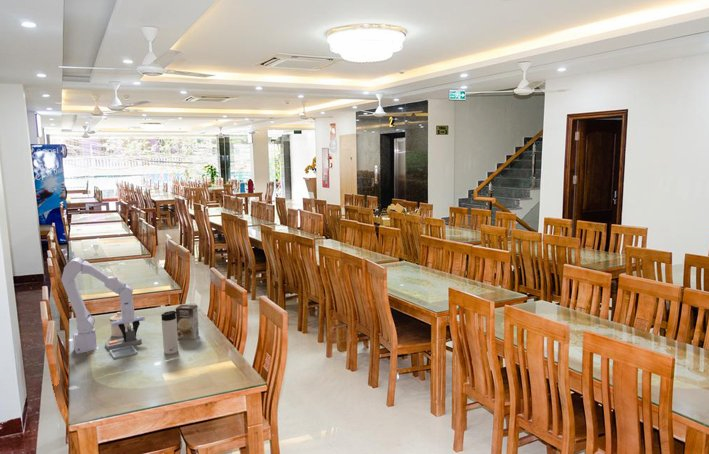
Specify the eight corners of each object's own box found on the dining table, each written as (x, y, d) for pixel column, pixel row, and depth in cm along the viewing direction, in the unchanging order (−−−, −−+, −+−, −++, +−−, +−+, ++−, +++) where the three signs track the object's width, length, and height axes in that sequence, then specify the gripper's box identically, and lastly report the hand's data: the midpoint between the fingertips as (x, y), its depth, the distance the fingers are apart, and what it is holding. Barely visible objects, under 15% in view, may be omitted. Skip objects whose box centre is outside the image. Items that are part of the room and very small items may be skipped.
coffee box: (176, 339, 251) (174, 308, 248) (182, 334, 257) (180, 304, 255) (194, 339, 250) (192, 308, 248) (199, 335, 256) (197, 304, 254)
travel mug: (174, 356, 229) (171, 314, 226) (161, 355, 231) (158, 313, 228) (181, 351, 235) (178, 309, 233) (169, 350, 237) (166, 309, 234)
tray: (114, 360, 226) (113, 357, 226) (109, 353, 234) (109, 350, 234) (137, 354, 232) (137, 351, 232) (132, 348, 240) (132, 345, 240)
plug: (126, 343, 242) (125, 327, 241) (124, 341, 245) (123, 325, 244) (135, 342, 245) (134, 326, 243) (133, 339, 248) (132, 324, 247)
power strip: (108, 351, 236) (107, 345, 236) (105, 347, 242) (104, 340, 242) (141, 344, 245) (141, 338, 245) (138, 339, 251) (137, 334, 250)
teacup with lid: (132, 334, 258) (130, 312, 257) (112, 338, 253) (110, 316, 251) (127, 328, 268) (125, 307, 266) (108, 332, 263) (106, 310, 261)
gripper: (112, 315, 235) (115, 343, 237) (145, 309, 244) (147, 336, 246) (109, 311, 241) (112, 339, 243) (141, 306, 250) (143, 332, 251)
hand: (129, 337), depth 245 cm, fingers closed on plug, 4 cm apart
